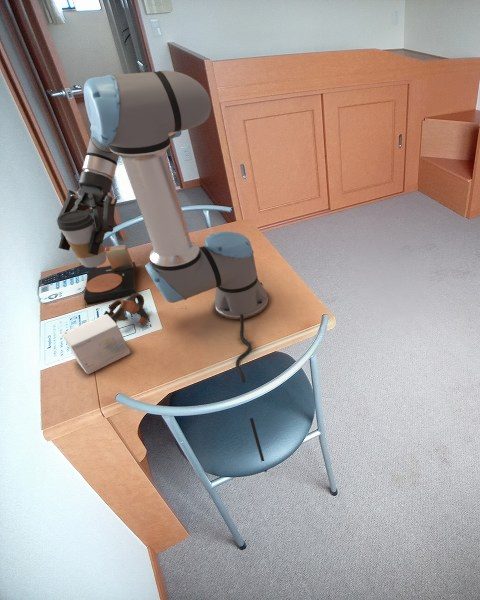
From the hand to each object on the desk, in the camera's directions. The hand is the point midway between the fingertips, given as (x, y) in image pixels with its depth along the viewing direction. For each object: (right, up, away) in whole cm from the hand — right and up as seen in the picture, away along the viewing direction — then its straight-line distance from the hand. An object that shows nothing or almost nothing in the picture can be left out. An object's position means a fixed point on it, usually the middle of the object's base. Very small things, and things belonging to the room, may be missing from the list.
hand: (78, 251), depth 120 cm
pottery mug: (+14, -20, +3) cm, 24 cm away
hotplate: (+1, -8, +15) cm, 17 cm away
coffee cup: (0, -3, +6) cm, 7 cm away
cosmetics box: (+14, -29, -9) cm, 34 cm away
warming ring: (0, -9, +11) cm, 14 cm away
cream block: (+1, -3, +17) cm, 18 cm away
